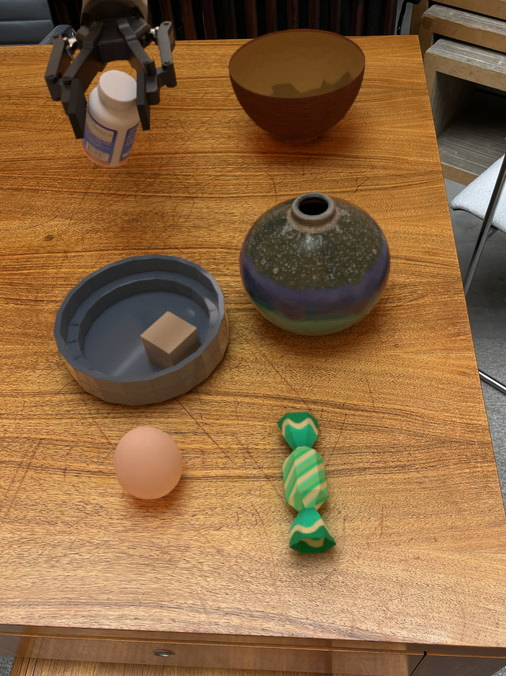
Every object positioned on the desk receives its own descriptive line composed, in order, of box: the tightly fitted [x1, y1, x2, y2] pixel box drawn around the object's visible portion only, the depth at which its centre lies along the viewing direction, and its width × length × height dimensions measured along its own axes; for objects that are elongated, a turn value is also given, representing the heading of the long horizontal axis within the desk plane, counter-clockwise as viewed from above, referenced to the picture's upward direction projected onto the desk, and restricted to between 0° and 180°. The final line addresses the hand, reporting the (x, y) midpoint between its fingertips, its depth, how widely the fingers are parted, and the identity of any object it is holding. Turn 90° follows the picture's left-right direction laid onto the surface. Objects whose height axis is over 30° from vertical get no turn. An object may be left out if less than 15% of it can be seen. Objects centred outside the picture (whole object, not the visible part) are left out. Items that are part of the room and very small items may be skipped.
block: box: [140, 311, 201, 370], centre depth 64 cm, size 4×4×4 cm
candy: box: [276, 411, 337, 555], centre depth 55 cm, size 12×3×4 cm
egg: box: [112, 426, 184, 500], centre depth 55 cm, size 6×6×8 cm
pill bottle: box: [81, 69, 140, 168], centre depth 68 cm, size 5×5×10 cm
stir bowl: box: [53, 253, 230, 406], centre depth 66 cm, size 17×17×4 cm
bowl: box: [227, 28, 366, 145], centre depth 86 cm, size 18×18×10 cm
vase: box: [238, 191, 391, 337], centre depth 64 cm, size 15×15×13 cm
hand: (109, 121), depth 61 cm, fingers closed on pill bottle, 6 cm apart
